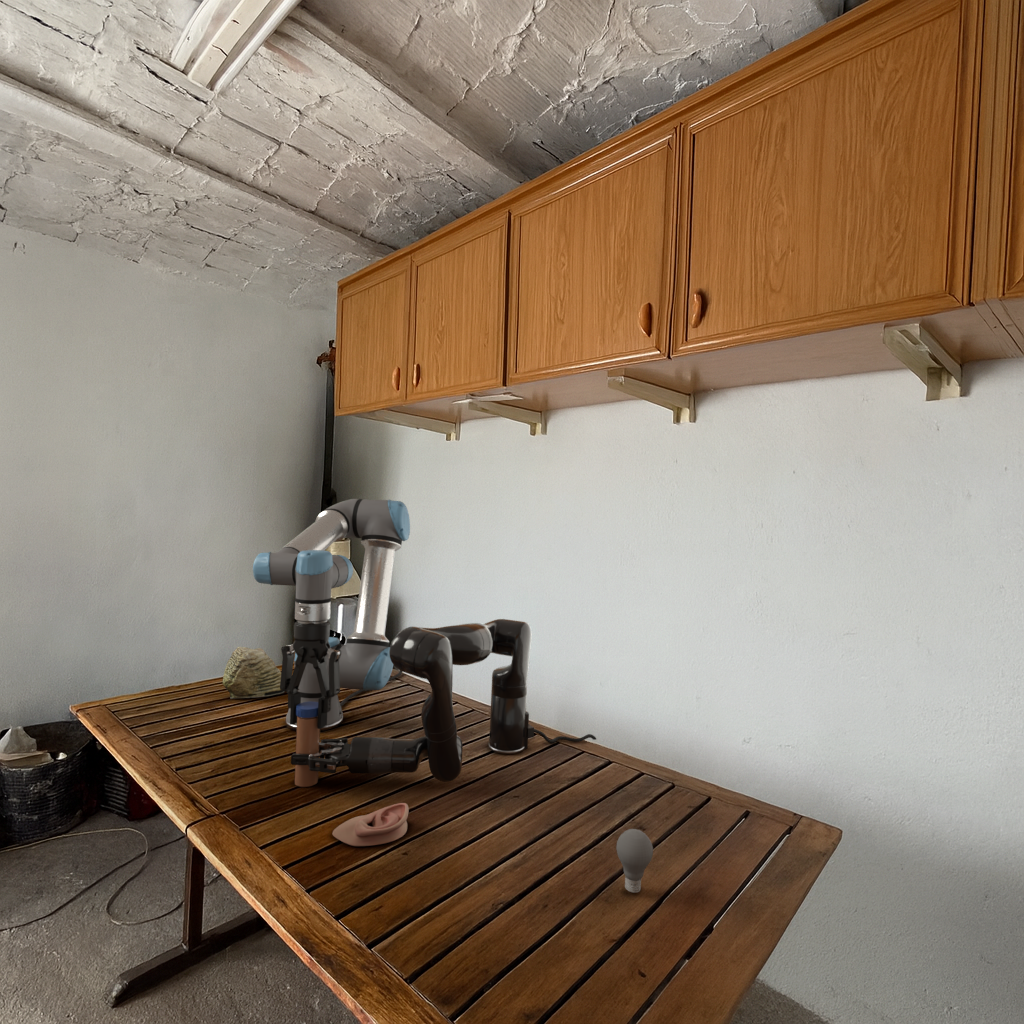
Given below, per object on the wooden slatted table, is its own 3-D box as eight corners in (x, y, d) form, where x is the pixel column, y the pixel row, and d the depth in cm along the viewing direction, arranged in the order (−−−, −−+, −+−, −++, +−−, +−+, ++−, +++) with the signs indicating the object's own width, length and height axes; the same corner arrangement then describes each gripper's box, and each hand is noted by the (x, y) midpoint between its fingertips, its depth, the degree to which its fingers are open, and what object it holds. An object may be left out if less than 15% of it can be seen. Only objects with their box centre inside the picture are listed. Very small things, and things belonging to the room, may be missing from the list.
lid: (308, 708, 144) (309, 699, 144) (327, 712, 141) (327, 704, 141) (290, 714, 139) (290, 706, 139) (308, 719, 136) (309, 711, 136)
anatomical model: (325, 820, 116) (352, 792, 127) (324, 841, 116) (352, 812, 128) (392, 830, 114) (415, 801, 125) (392, 852, 114) (414, 821, 125)
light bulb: (610, 879, 108) (613, 822, 108) (644, 879, 109) (647, 822, 109) (619, 902, 102) (622, 840, 102) (655, 901, 103) (658, 840, 103)
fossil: (218, 695, 195) (220, 647, 195) (278, 685, 208) (279, 640, 207) (228, 703, 189) (230, 653, 188) (289, 692, 201) (290, 645, 201)
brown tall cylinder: (321, 777, 143) (323, 705, 142) (313, 787, 138) (316, 712, 138) (299, 776, 143) (302, 704, 143) (291, 786, 138) (293, 711, 138)
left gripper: (264, 619, 138) (260, 724, 139) (342, 627, 134) (338, 736, 134) (284, 614, 146) (280, 714, 146) (359, 621, 141) (355, 724, 141)
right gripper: (378, 727, 148) (304, 725, 147) (368, 751, 134) (286, 750, 133) (376, 758, 148) (302, 757, 147) (366, 786, 134) (284, 785, 133)
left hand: (308, 724), depth 140 cm, fingers open, 6 cm apart
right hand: (295, 754), depth 140 cm, fingers closed on brown tall cylinder, 5 cm apart
